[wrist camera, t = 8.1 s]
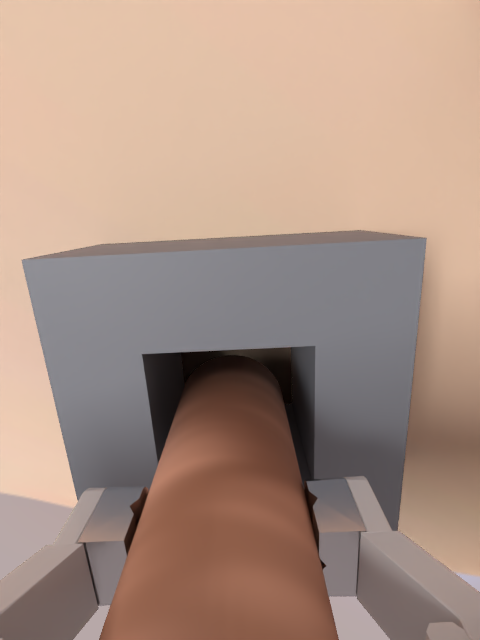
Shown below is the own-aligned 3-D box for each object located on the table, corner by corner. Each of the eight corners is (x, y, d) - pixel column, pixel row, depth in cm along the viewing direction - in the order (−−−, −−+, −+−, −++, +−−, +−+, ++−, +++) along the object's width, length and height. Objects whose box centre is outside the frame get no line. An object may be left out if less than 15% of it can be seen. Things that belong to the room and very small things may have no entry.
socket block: (359, 230, 16) (426, 237, 10) (349, 452, 19) (395, 552, 13) (100, 244, 16) (21, 259, 10) (136, 460, 20) (91, 562, 14)
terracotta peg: (282, 351, 13) (567, 1274, 2) (284, 443, 14) (463, 1364, 3) (175, 356, 13) (-260, 1279, 2) (186, 448, 14) (-32, 1361, 3)
